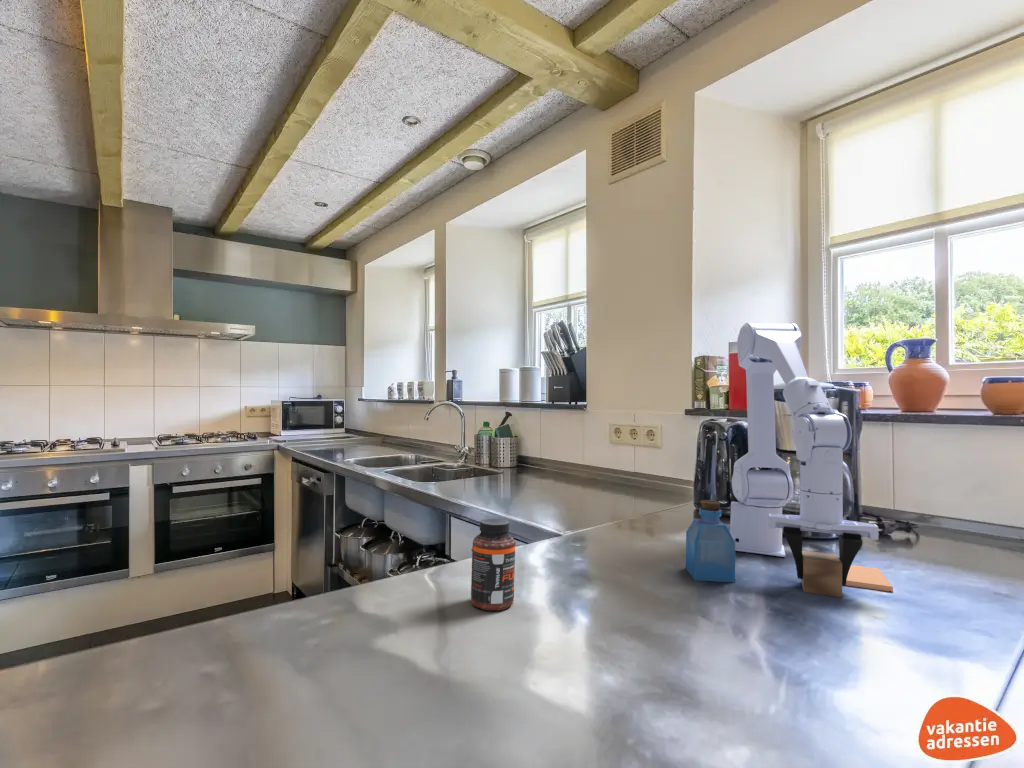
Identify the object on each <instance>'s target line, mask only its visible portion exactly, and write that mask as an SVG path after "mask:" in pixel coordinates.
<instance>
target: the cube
mask: <svg viewBox="0 0 1024 768" xmlns="http://www.w3.org/2000/svg"><path fill="white" fill-rule="evenodd" d="M802 565H803V579H800V584H801V588H802V592H804V593H811V594H817V595H823V596H829V597H835V598H836V597H837V598H843V585H842V562H841V560H840V559H839V555H838V554H834V553H826V552H825V553H824V552H818V551H808V550H803V549H802Z"/></svg>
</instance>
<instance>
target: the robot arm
mask: <svg viewBox="0 0 1024 768" xmlns="http://www.w3.org/2000/svg"><path fill="white" fill-rule="evenodd" d="M736 342H737V344H736V345H737V360H738V366H739V367H740V368H742V369H743V370H745V379H746V381H745V382H746V383H745V384H746V409H747V411H746V413H747V415H746V416H747V419H746V420H747V446H748V447H747V450H748V451H747V453H746V454H743V456H741V457H740V458H738V459H737V460H736V461H735V462H734V463H733V464H734V465H733V473H732V478H731V488H732V494H733V496H734V497H735V499H736V500H737V501H731V503H730V517H729V518H730V527H729V529H728V530H729V532H730V534H731V536H732V538H733V540H734V542H735V552H745V553H751V554H760V555H768V556H772V557H773V556H774V557H775V556H776V557H782V558H783V557H784V558H785V557H786V552H785V547H784V545H783V536H784V537H785V539H786V541H787V543H788V546H789V548H790V551H791V554H792V557H793V560H794V563H795V570H796V577H797V579H798V580H801V579H803V565H802V550H803V540H804V539H803V536H802V535H803V532H802V531H804V532H813V533H821V534H822V533H823V534H830V535H837V536H838V552H839V553H838V554H839V555H838V557H839V559H840V560H841V562H842V586H847V585H846V580H847V576H848V572H849V569H850V567H851V565H853V564H852V563H853V561H854V560H855V558H856V556H857V554H858V553H859V551H860V550H861V548H862V546H863V539H862V538H867V539H869V540H876V541H878V540H879V526H878V525H877V524H875V523H867V522H860V521H855V520H854V521H853V520H846V519H843V512H844V511H843V507H844V506H843V504H844V503H843V502H844V501H843V500H844V499H843V498H844V497H843V496H844V495H843V494H844V493H843V492H844V491H843V490H844V489H843V488H844V485H843V484H844V483H843V481H844V480H843V479H844V478H843V476H844V475H843V473H844V471H843V468H844V466H843V465H844V463H843V462H844V458H843V457H844V456H843V455H844V453H843V452H844V451H846V450H847V449H848V448H849V446H850V445H851V442H852V437H853V433H852V432H853V430H852V425H851V423H850V421H849V418H848V416H846V414H844V413H843V412H842V413H841V412H839V411H838V409H834V408H832V406H831V404H830V402H829V400H828V398H827V396H826V394H825V392H824V390H823V388H822V387H821V385H820V383H819V381H818V380H816V379H814V378H810V377H809V376H808V373H807V370H806V368H805V365H804V362H803V360H802V356H801V354H800V349H801V346H802V332H801V329H800V328H799V326H798V325H797V324H796V323H794V322H791V323H751V322H745V323H744V324H743V325H742V326H741V327H740V329H739V333H738V335H737V341H736ZM776 372H778V374H779V376H780V378H781V379H782V381H783V383H784V384H785V386H784V389H782V396H783V398H784V401H785V403H786V406H787V408H788V410H789V413H790V416H791V418H792V420H793V421H794V424H793V430H792V438H793V443H794V445H795V453H796V455H795V456H796V459H797V460H799V469H800V470H799V475H800V476H799V514H783V507H786V506H787V503H788V502H789V501H790V500H791V499H792V497H793V494H794V482H793V478H792V475H791V467H790V464H789V463H788V462H787V461H785V460H784V459H783V458H782V457H780V456H779V455H778V454H777V449H776V448H777V447H776V446H777V441H776V417H775V416H776V413H775V412H776V410H775V387H774V385H775V384H774V376H775V375H774V374H775V373H776ZM753 468H765V469H753ZM767 468H770V469H771V470H770V469H767Z"/></svg>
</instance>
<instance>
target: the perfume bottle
mask: <svg viewBox="0 0 1024 768" xmlns="http://www.w3.org/2000/svg"><path fill="white" fill-rule="evenodd" d="M699 503H700V507H699V508H698V515H700V518H694V519H693V520H692V522H691V523H690V525H689V527H688V528H687V530H686V531H685V534H686V535H685V536H686V538H685V569H686V570H687V572H688V574H690V576H691V577H692V578H693V580H694V581H705V582H720V583H721V582H724V583H735V582H736V551H735V542H734V540H733V538H732V536H731V534H730V532H729V530H730V529H729V528H728V526H727V525H726V524H725V523H724V522H722V521H721V519H720V517H722V509H720V506H721V502H720V501H718V500H712V499H711V500H710V499H702V500H700V501H699Z"/></svg>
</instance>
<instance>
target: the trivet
mask: <svg viewBox="0 0 1024 768" xmlns="http://www.w3.org/2000/svg"><path fill="white" fill-rule="evenodd" d="M845 586H847V587H854V588H862V589H870V590H875V591H882V592H889V591H891V592H890V593H893V592H894V586H893V585H892V584H891V583H890V581H889V580H888V579H887V577H886V575H884V574H883V572H882V570H881V569H880V568H879V567H869V566H862V565H855V564H851V567H850V569H849V572H848V576H847V580H846V585H845Z"/></svg>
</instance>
